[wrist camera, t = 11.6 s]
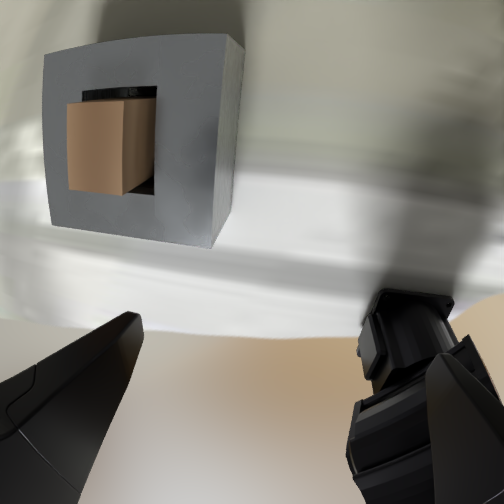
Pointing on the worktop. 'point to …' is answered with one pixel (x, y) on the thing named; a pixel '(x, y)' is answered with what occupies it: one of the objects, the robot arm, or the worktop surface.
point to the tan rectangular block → (111, 144)
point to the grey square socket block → (166, 134)
